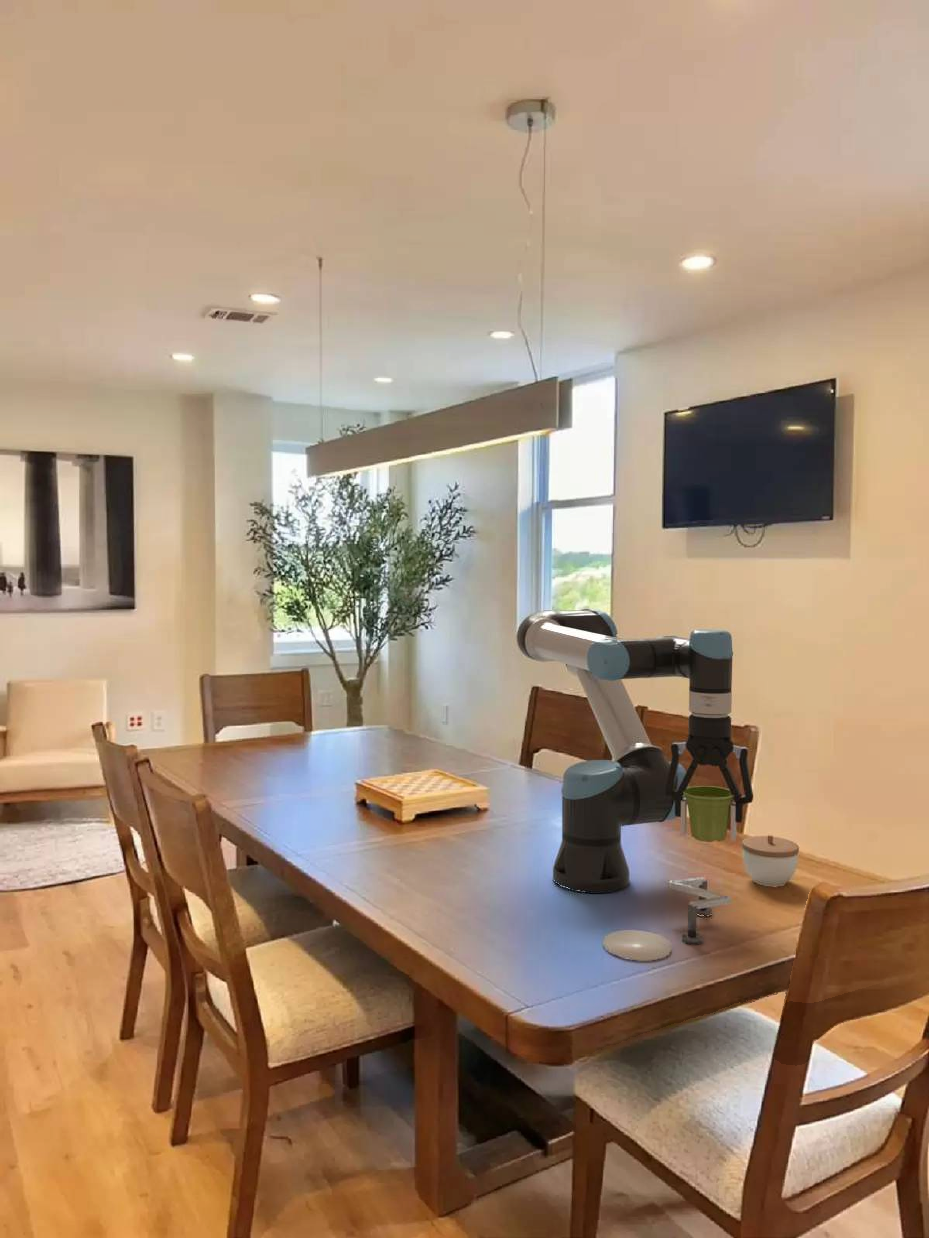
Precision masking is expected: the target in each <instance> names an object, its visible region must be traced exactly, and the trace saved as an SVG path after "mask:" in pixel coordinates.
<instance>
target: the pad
mask: <svg viewBox="0 0 929 1238" xmlns="http://www.w3.org/2000/svg"><path fill="white" fill-rule="evenodd" d="M603 944H604V945H603V948H604V947H605V948H606V949H607V950H608V951H610V952H611V953H612V954H614V955H617V956H619V957H621V958H620V959H622V958H628V959H630V960H629V961H632V960H637V961H636V962H653V961H652V960H656V961H658V960H657V959H660V960H662V959H661V958H663V959H665V958H667V957H668V956H670V954H671V953H672V943H671V942H670V941H669V940H668V939H667V938H666V937H664V936H662V935H660V934H657V933H655V932H650V931H647V930H646V931H645V930H640V929H639V930H638V929H626V930H625V929H624V930H623V929H622V930H618V931H613V932H611V933H608V934H607V935H606V936H605V937H604V938H603ZM605 948H604V949H605ZM670 952H671V953H670ZM612 954H611V955H612ZM614 955H613V956H614ZM666 956H667V957H666ZM619 957H618V958H619Z"/></svg>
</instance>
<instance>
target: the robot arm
mask: <svg viewBox="0 0 929 1238" xmlns="http://www.w3.org/2000/svg"><path fill="white" fill-rule="evenodd" d="M618 634H619V633H618V629H617V626H616V624H615V622H614V620H613V619H612V617H611V616H610V615H609V614H608V613H607V612H604V611H602V610H600V609H599V610H598V609H590V608H584V609H583V608H582V609H579V610H578V609H575V610H572V609H569V610H566V609H565V610H563V609H562V610H558V609H557V610H556V609H555V610H540V611H536V612H534V613H531V614H529V615H528V616H527V617H526V618H524V619H523V620H522V621H521V623H520V624H519V626H518V628H517V632H516V643H517V646H518V648H519V650H520V651H521V654H523V655H524V656H526V657H527V658H529V659H531V660H534V661H537V662H541V663H545V662H546V663H547V662H558V663H561V664H564V665H565V666H566V668H567V670H568V672H569V673H570V674H571V675H573V676H576V677H578V679H579V682H580V684H581V687H582V690H583V692H584V694H585V696H586V699H587V700H588V703H589V705H590V708H591V710H592V712H593V714H594V715H593V716H594V717H595V720H596V722H597V724H598V727H599V729H600V731H601V733H602V735H603V738H604V741H605V743H606V744H607V747H608V749H609V752H610V754H611V756H612V759H613V760H611V759H598V760H597V759H592V760H590V759H589V760H583V761H581V762H577V763H574V764H572V765H570V766H569V767H567V769H566V770H565V771H564V773H563V776H562V786H561V787H562V788H561V797H562V798H561V810H562V811H561V843H560V846H559V848H558V852H557V854H556V859H555V861H554V864H553V867H552V880H553V879H554V880H555V882H557V883H559V884H560V885H562V886H565V887H568V888H570V889H573V890H580V891H585V892H594V893H593V894H607V892H608V893H614V892H618V891H620V890H623V888H624V889H626V888H627V887H628V884H630V869H629V865H628V861H627V859H626V856H625V853H624V849H623V847H622V842H621V841H622V827H624V826H632V825H642V824H651V823H663V822H666V821H671V820H675V819H678V818H680V836H681V837H686V835H687V829H688V827H687V825H688V823H687V822H688V818H687V817H688V812H687V811H688V805H687V801H686V798H685V795H684V794H683V791H684V792H685V790H686V788H688V787H690V783H691V780H692V778H693V776H694V774H695V772H696V771H697V768H698V766H699V765H700V766H708V765H709V766H712V767H718V769H719V770H720V772H721V773H722V776H723V779H724V780H725V783H726V785H727V789H729V790H730V792H731V794H732V795H734V797H733V801H732V804H731V806H730V842H736V838H737V823H742V821H743V819H744V817H743V816H744V815H743V814H744V813H743V812H744V805H746V804H751V803H752V802H753V800H754V792H753V788H752V787H753V786H752V781H751V775H750V770H749V769H750V768H749V764H748V756H749V755H748V754H749V747H748V746H745V745H744V746H739V745H735V744H734V743H733V741H732V717H731V716H730V714H731V713H732V704H733V703H732V702H733V701H732V699H733V698H732V695H733V694H732V693H733V692H732V688H733V687H732V683H733V681H732V679H733V656H734V652H733V639H732V637H733V636H732V634H731V632H730V631H727V630H723V629H722V630H721V629H694V630H691V632H690V635H689V638H687V637H685V638H684V637H679V636H676V635H671V636H670V635H669V636H668V635H665V636H659V637H653V638H652V637H649V638H628V639H627V638H618V636H617V635H618ZM670 677H671V678H672V677H674V678H684V679H689V682H688V683H689V687H688V689H689V691H688V711H689V712H690V714H689V716H688V738H687V739H686V741H685V742H684V741H683V742H678V741H674V742H672V744H671V746H670V750H671V755H672V756H671V761H668V759H667V757H666V755H665V753H664V751H663V749H662V748H661V747H659V746H656V745H653V744H652V743H651V740H650V738H649V736H648V733H647V732H646V730H645V728H644V726H643V724H642V721H641V719H640V717H639V715H638V712H637V711H636V708H635V706H634V704H633V701H632V700H631V697H630V695H629V693H628V691H627V689H626V687H625V684H624V683H623V680H630V679H632V680H633V679H649V678H650V679H652V678H655V679H656V678H670ZM685 749H687V751H688V752H689V755H691V757H692V761H691V762H690V764H689V767H688V768H687V771H686V769H685V768H684V766H683V765H682V764H681V763H680V760H681V755H683V754H684V752H685ZM732 752H733V753H734V755H735V758H736V759H737V760H739V761H738V762H739V763H738V764H739V770H740V775H741V782H742V788H743V793H744V795H742V794H741V791H740V789H739V786H738V784H737V782H736V779H735V777H734V775H733V773H732V771H731V769H730V765H729V763H728V760H727V758H728V757H729V756H730V754H731V753H732ZM554 880H553V881H554ZM555 882H554V883H555ZM626 886H627V887H626ZM573 890H572V891H573ZM617 890H618V891H617ZM613 891H614V892H613ZM585 892H584V893H585ZM596 892H597V893H596Z"/></svg>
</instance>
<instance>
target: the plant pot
mask: <svg viewBox="0 0 929 1238" xmlns="http://www.w3.org/2000/svg"><path fill="white" fill-rule="evenodd" d="M683 794H684V795H685V798H686V801H687V811H688V816H689V818H688V819H689V827H690V832H691V838H694V839H695V840H697V841H699V842H706V843H712V842H714V841H718V842H723V841H725V840H726V838H727V834H728V833H727V832H728V831H727V830H728V827H729V826H728V824H729V819H730V814H731V804H732V802H733V801H734V799H733V797H734V795H732V794H731V792H730V790H729V788H726V787H721V786H713V785H711V786H710V785H697V786H696V785H693V786H689V787H688V788H686V790H685V792H684V791H683Z"/></svg>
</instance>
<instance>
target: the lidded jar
mask: <svg viewBox="0 0 929 1238" xmlns="http://www.w3.org/2000/svg"><path fill="white" fill-rule="evenodd" d="M741 847H742V853H741V854H742V862H743V866H744V869H745V871H746V874H748V877H749V876H750V878H751V879H752V880H754V881H755V882H756V883H759V884H761V885H764V886H763V887H766V886H782V887H784V886H785V885H786V884H785V883H788V882H789V881H790V880H791V879H792V878H793V877H794V876H795V873H796V871H797V868H798V863H799V862H798V861H799V851H800V847H799V845H798V844H797V843H795V842H794V841H792V840H789V839H787V838H783V837H777V836H774V835H772V834H768V835H757V836H756V835H755V836H749V837H746V838H744V839H742V841H741ZM754 881H753V882H754ZM755 882H754V883H755ZM756 883H755V884H756ZM784 884H785V885H784ZM761 885H760V886H761ZM783 885H784V886H783Z"/></svg>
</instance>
